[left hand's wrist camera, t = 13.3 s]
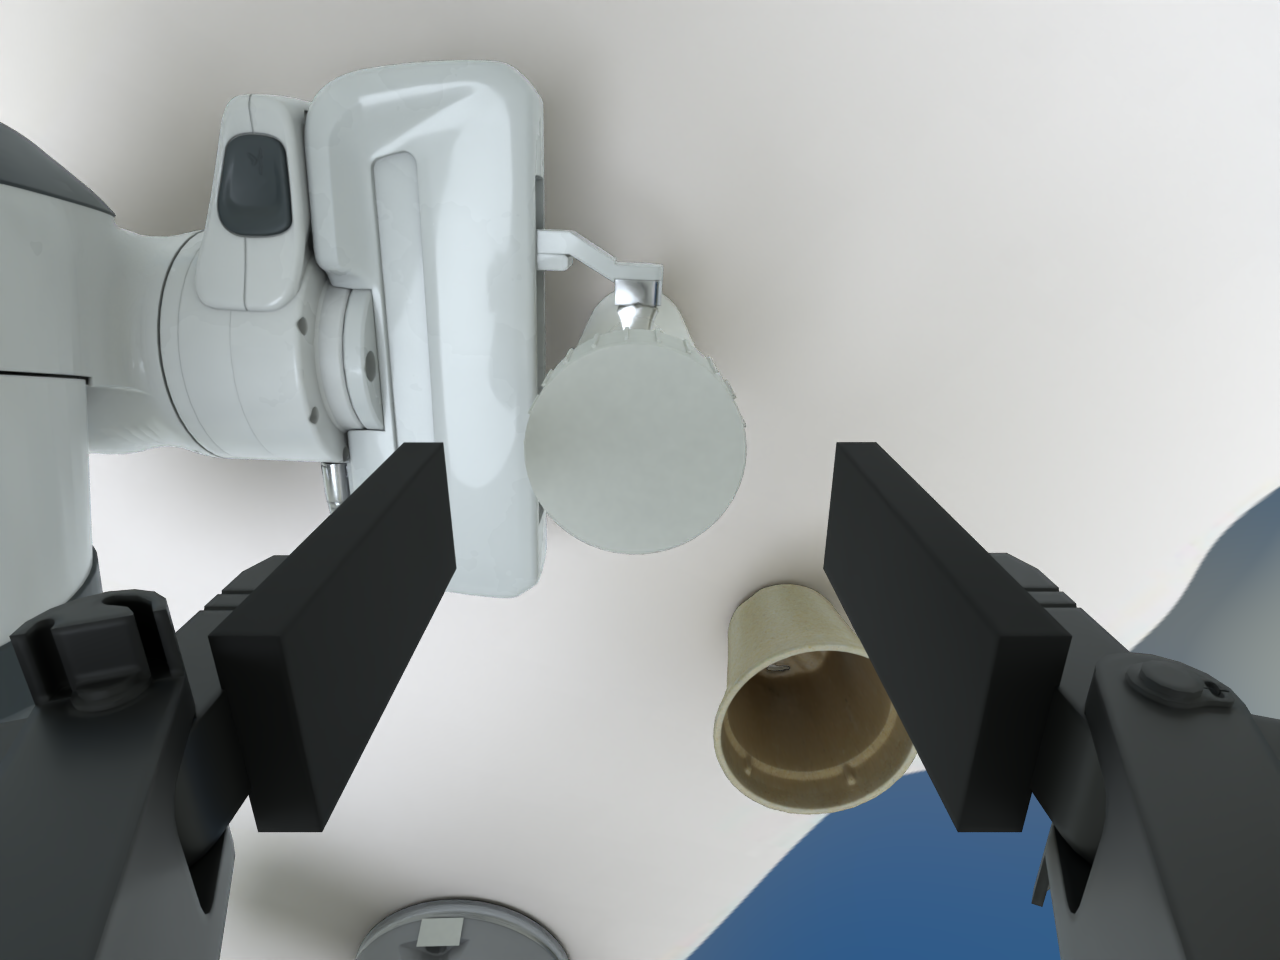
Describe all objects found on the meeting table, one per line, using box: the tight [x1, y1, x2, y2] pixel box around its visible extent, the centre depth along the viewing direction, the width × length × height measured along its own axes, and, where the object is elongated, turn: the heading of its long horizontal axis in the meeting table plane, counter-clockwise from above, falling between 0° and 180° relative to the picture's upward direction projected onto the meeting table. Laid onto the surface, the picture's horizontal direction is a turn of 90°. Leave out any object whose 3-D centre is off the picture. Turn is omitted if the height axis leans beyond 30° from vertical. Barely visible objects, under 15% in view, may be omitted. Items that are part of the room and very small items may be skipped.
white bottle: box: [577, 291, 695, 348], centre depth 26 cm, size 5×5×17 cm
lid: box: [524, 327, 747, 554], centre depth 19 cm, size 6×6×2 cm
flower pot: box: [713, 584, 917, 814], centre depth 36 cm, size 9×9×9 cm
